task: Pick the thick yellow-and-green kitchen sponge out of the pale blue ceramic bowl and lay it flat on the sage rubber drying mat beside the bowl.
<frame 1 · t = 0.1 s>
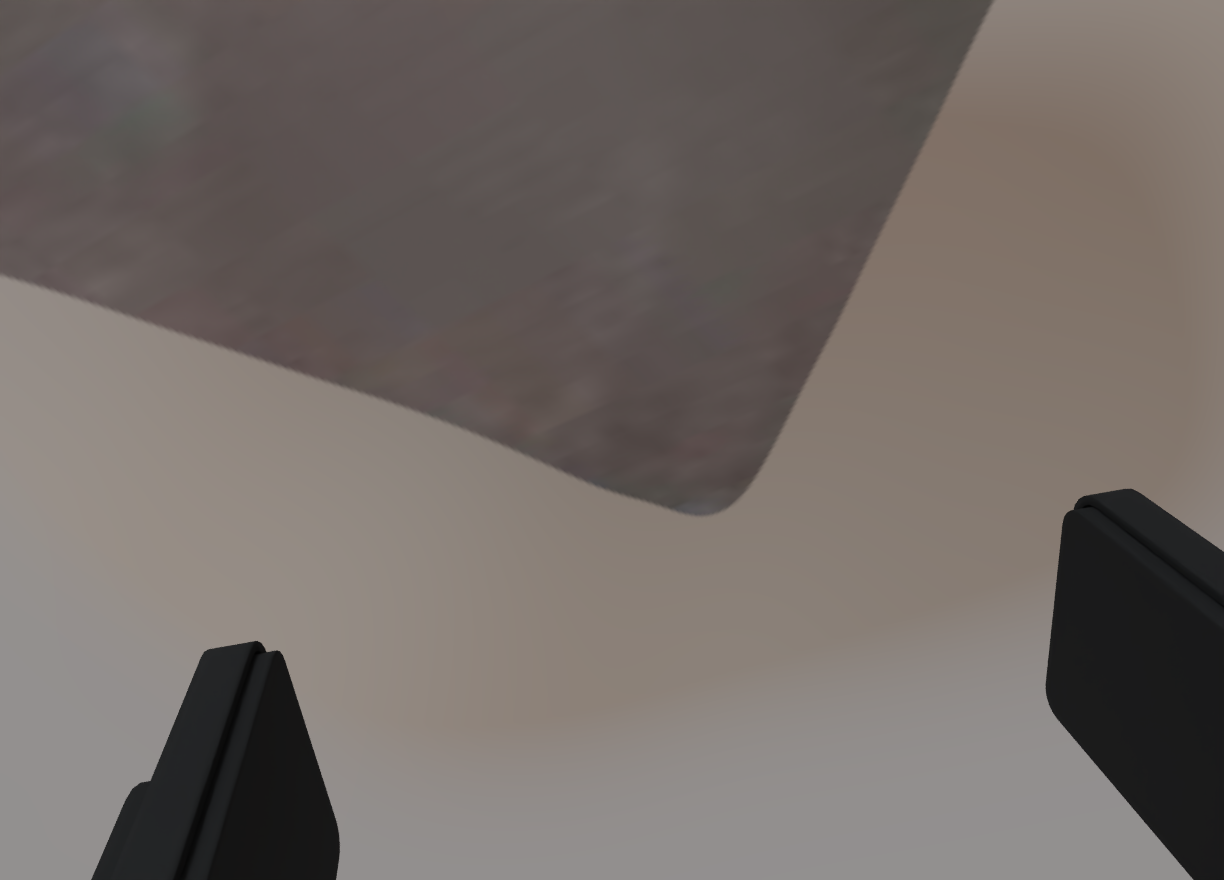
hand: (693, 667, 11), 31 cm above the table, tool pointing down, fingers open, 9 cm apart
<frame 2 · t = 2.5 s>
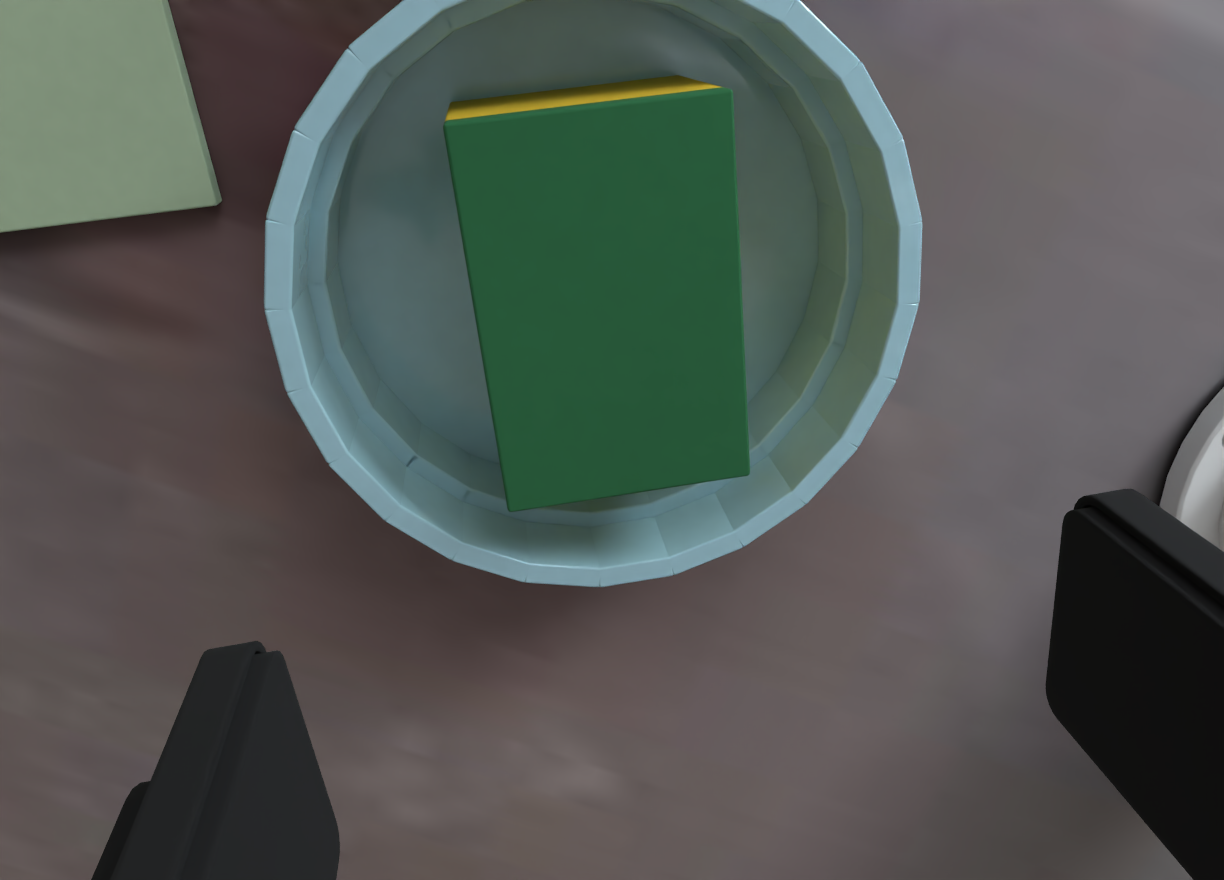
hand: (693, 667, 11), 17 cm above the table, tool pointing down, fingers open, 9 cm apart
bowl: (584, 257, 26), on the table
sponge: (585, 260, 26), resting on bowl
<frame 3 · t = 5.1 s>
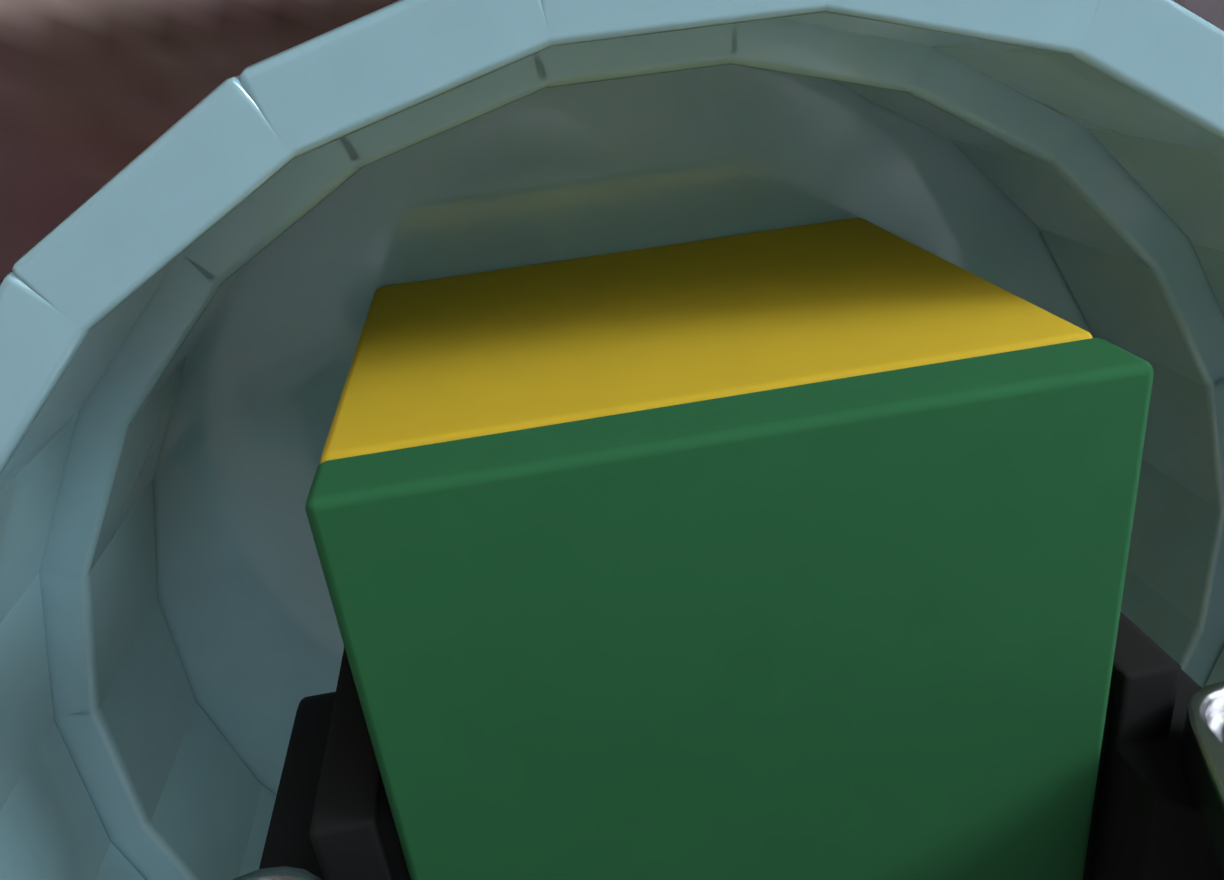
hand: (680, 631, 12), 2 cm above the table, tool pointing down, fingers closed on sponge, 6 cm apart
bowl: (652, 550, 14), on the table
sponge: (657, 565, 13), resting on bowl, touching gripper
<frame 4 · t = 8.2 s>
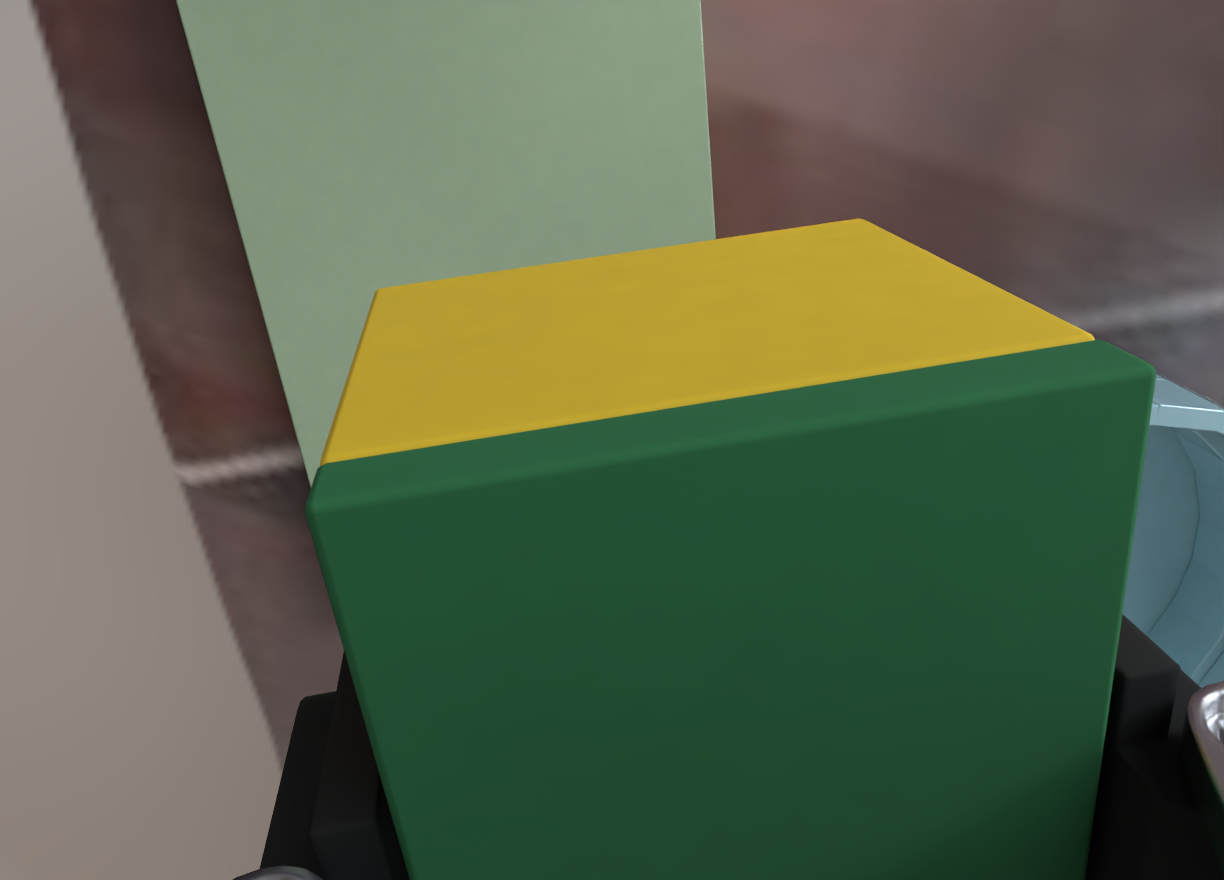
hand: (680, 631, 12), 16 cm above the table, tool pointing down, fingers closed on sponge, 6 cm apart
drying mat: (489, 252, 25), on the table
bowl: (1002, 561, 32), on the table
sponge: (657, 566, 13), point 14 cm above the table, touching gripper
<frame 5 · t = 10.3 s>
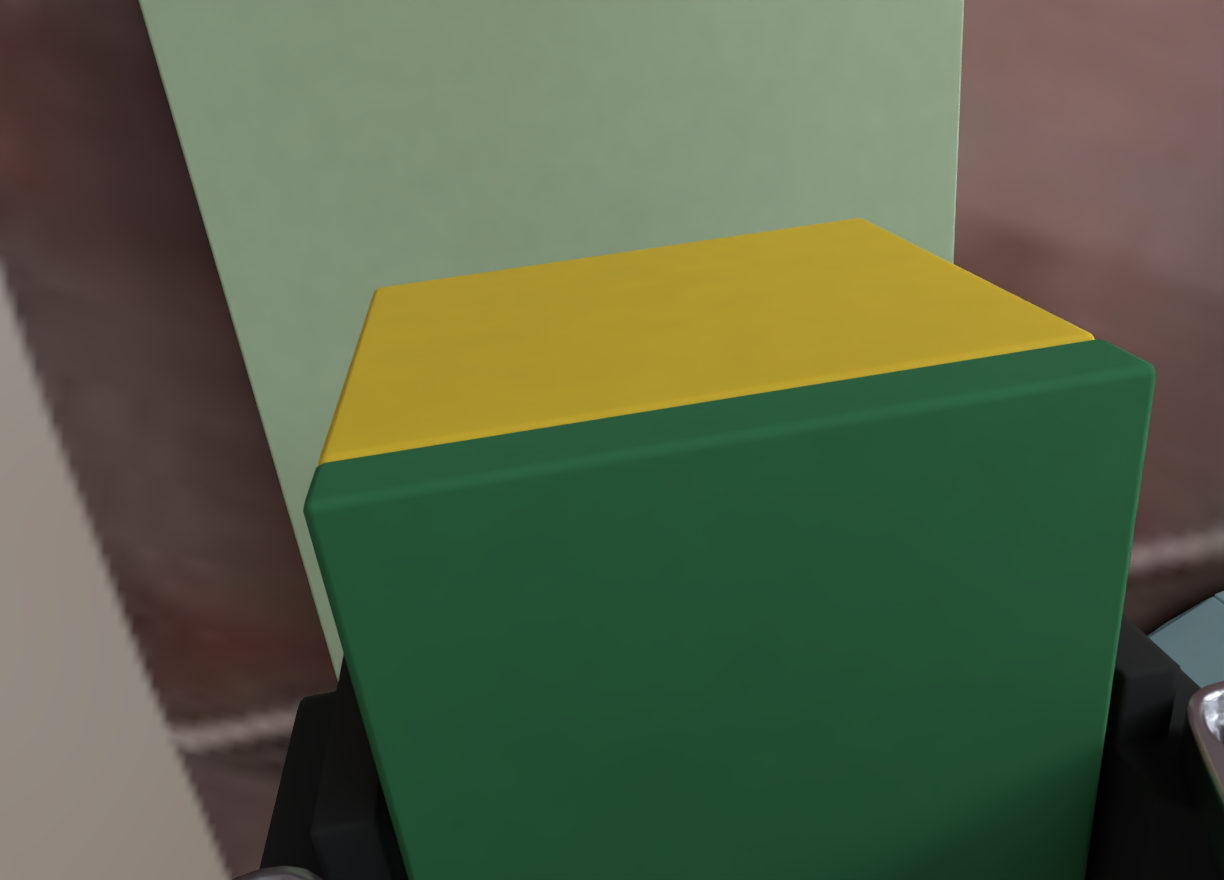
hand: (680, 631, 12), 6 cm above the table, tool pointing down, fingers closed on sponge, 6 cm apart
drying mat: (621, 440, 17), on the table
sponge: (657, 566, 13), point 5 cm above the table, touching gripper
when the fingers open (2 cm above the table, at t = 11.8 s): sponge stays where it is, resting on drying mat.
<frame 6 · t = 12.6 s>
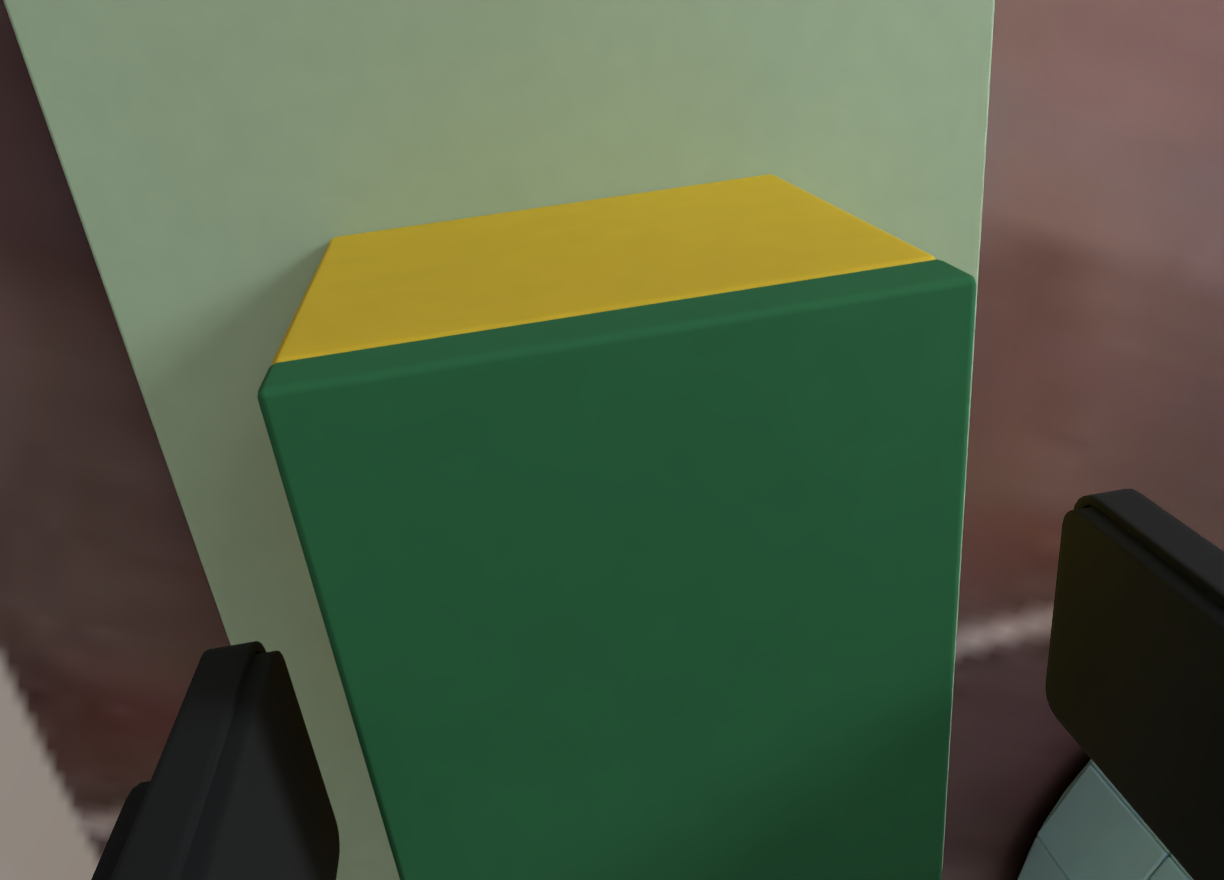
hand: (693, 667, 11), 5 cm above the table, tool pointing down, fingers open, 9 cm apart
drying mat: (596, 481, 15), on the table
sponge: (596, 497, 14), point 1 cm above the table, touching drying mat
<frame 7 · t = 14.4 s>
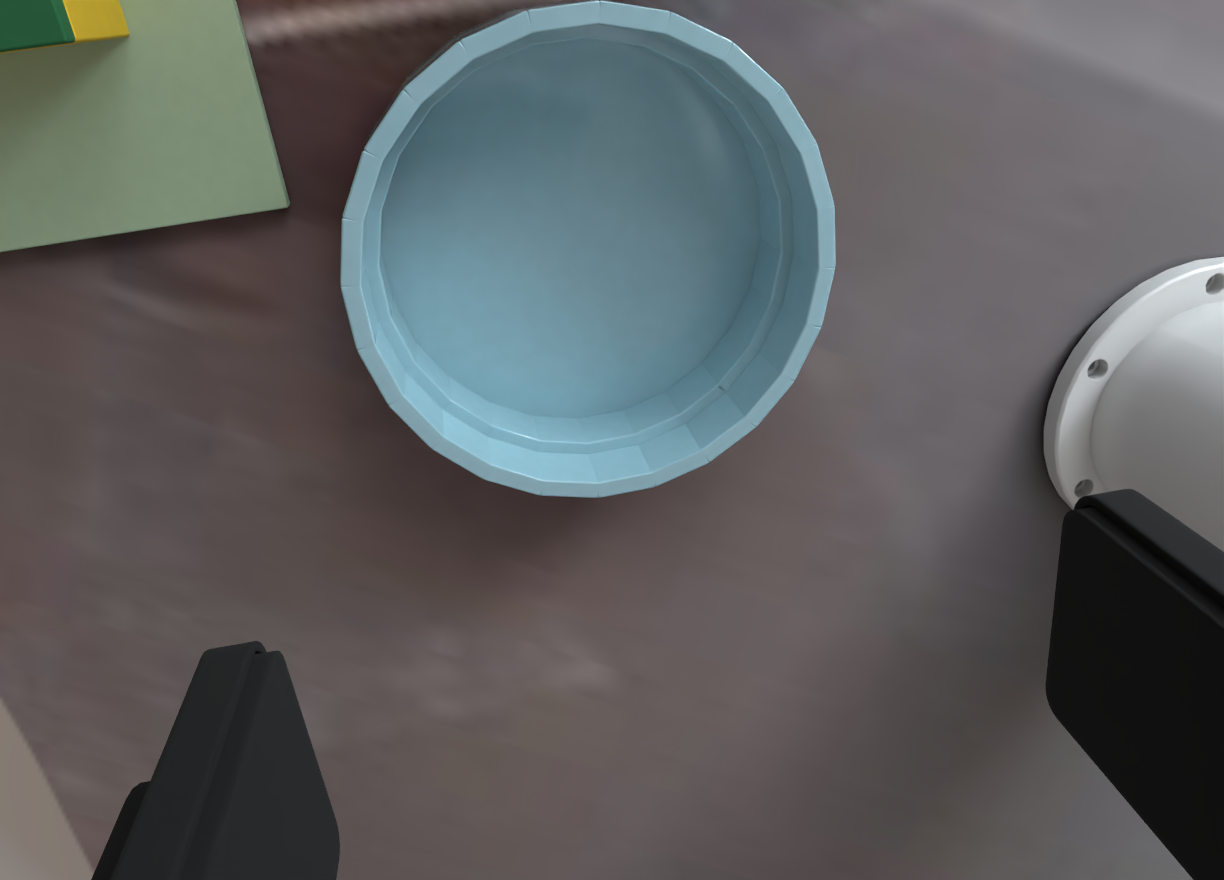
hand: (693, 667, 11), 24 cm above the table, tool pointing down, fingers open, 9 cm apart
bowl: (575, 240, 33), on the table
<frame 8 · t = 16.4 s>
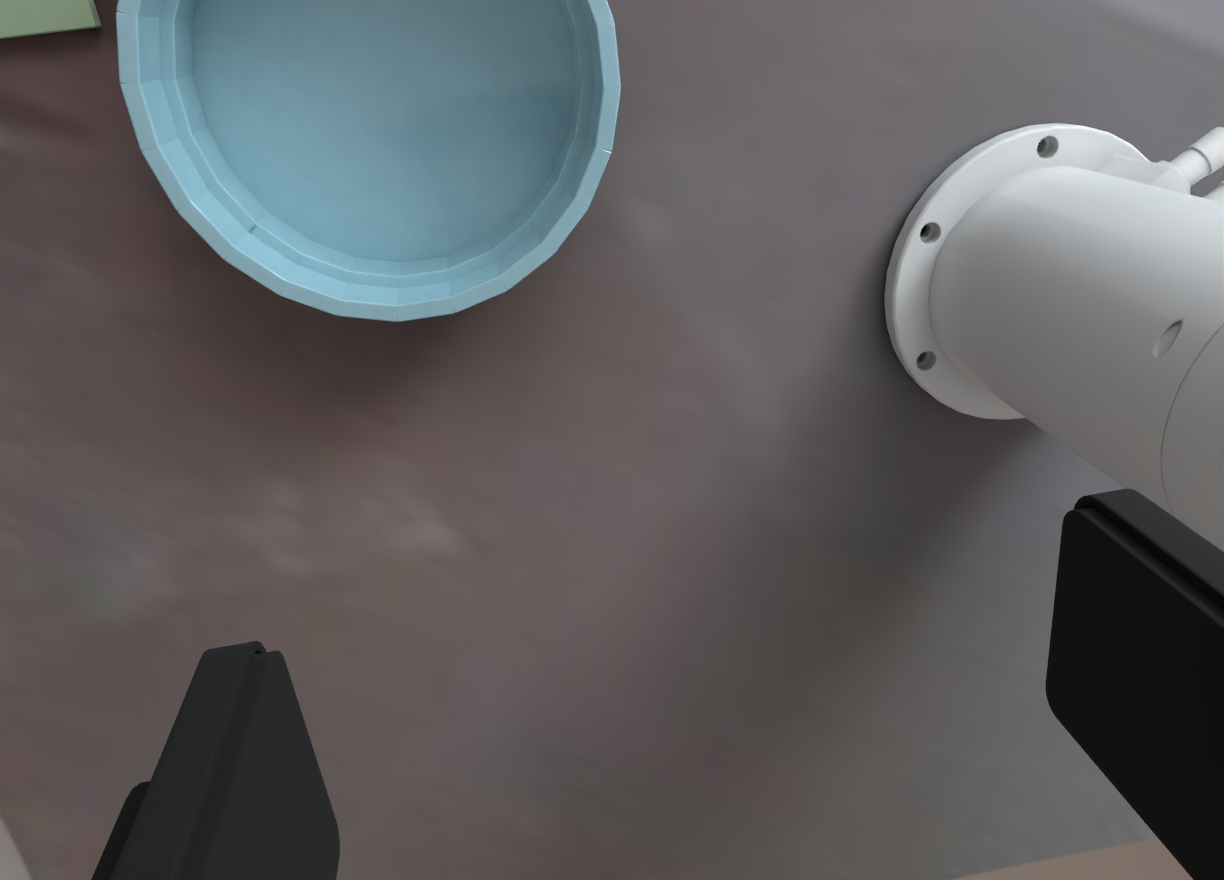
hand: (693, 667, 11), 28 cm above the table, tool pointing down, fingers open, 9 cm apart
bowl: (390, 76, 34), on the table
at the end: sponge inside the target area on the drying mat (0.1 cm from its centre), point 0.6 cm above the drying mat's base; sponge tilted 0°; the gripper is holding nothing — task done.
